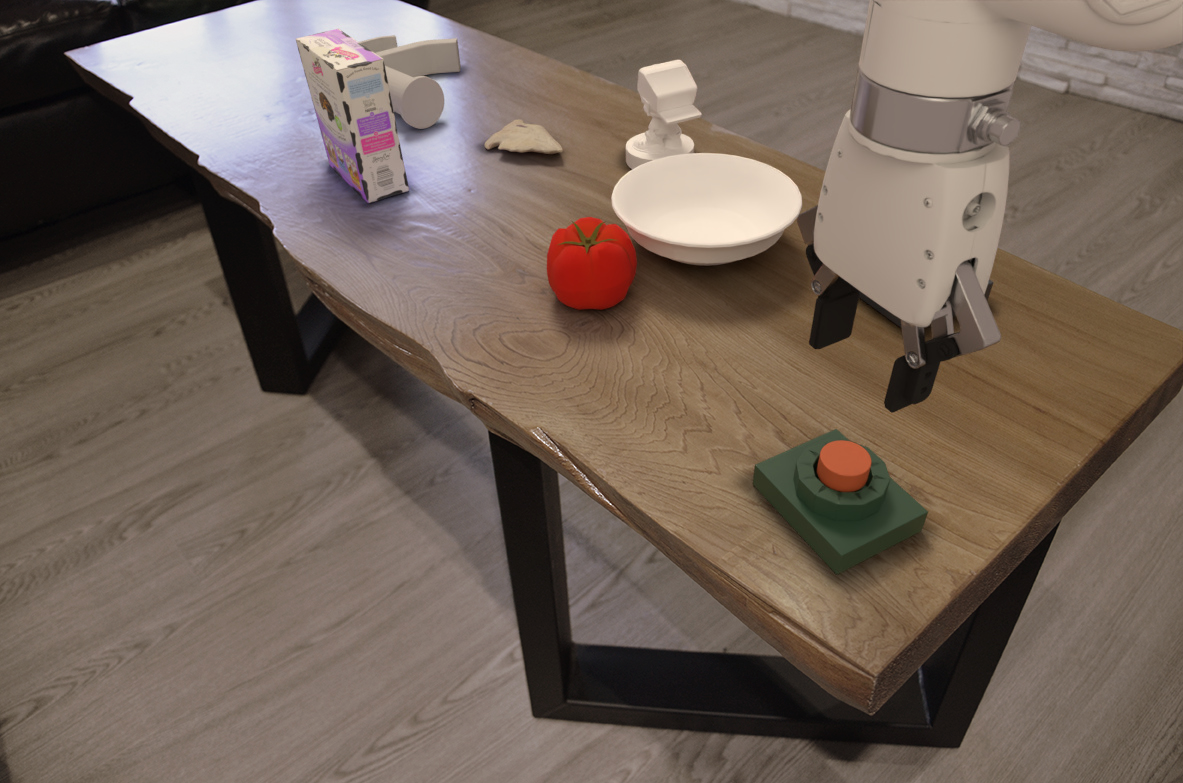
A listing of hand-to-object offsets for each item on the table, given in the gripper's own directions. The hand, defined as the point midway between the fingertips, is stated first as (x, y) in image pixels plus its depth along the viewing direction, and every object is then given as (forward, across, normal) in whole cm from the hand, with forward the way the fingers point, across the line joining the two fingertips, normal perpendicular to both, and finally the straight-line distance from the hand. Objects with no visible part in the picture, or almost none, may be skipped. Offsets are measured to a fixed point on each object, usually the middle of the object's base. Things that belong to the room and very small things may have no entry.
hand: (866, 369), depth 55 cm
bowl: (+14, +36, -12) cm, 40 cm away
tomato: (+14, +34, +3) cm, 37 cm away
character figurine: (+14, +56, -19) cm, 61 cm away
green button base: (+14, 0, 0) cm, 14 cm away
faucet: (+14, +96, 0) cm, 97 cm away
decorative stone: (+14, +68, -6) cm, 70 cm away
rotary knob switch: (+14, +19, -25) cm, 34 cm away
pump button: (+10, 0, 0) cm, 10 cm away
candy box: (+14, +72, +15) cm, 75 cm away
